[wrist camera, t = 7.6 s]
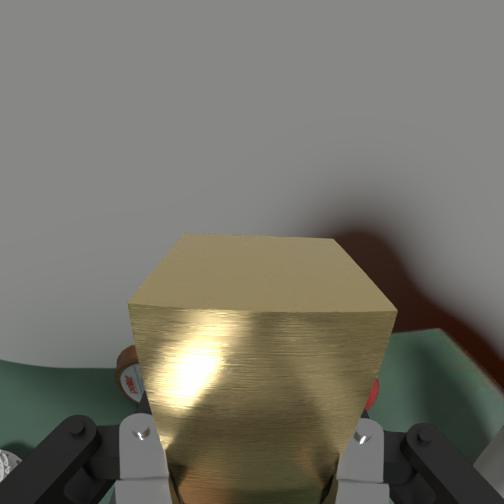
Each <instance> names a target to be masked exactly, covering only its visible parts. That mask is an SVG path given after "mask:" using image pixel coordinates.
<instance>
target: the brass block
mask: <svg viewBox="0 0 504 504" xmlns="http://www.w3.org/2000/svg"><path fill="white" fill-rule="evenodd" d="M128 309H129V315H130V321H131V326H132V332H133V337H134V342H135V347H136V352H137V356H138V361H139V365H140V370H141V374H142V378H143V382H144V386H145V390H146V394H147V397H148V401H149V405H150V408H151V412H152V415H153V418H154V422H155V425H156V428H157V431H158V435H159V438H160V441H161V444H162V447H163V450H164V451H165V452H166V455H167V458H168V463H169V466H170V469H171V472H172V474H173V477H174V479H175V482H177V485H178V487H179V491H180V494H181V496H182V499H183V501H184V503H185V504H315V503H316V502H317V500H318V498H319V495H320V491H321V489H322V487H323V485H324V484H327V483H328V481H329V480H330V478H331V476H332V474H333V472H334V470H335V464H336V461H337V459H338V457H339V455H340V454H342V453H344V451H345V449H346V447H347V445H348V443H349V441H350V439H351V437H352V435H353V433H354V431H355V428H356V426H357V424H358V422H359V419H360V417H361V415H362V413H363V410H364V408H365V405H366V403H367V401H368V398H369V396H370V393H371V390H372V388H373V385H374V383H375V380H376V377H377V375H378V372H379V369H380V366H381V363H382V360H383V357H384V354H385V351H386V348H387V345H388V342H389V339H390V335H391V332H392V329H393V325H394V322H395V318H396V315H397V309H396V308H395V307H394V306H393V304H392V303H391V302H390V301H389V300H388V299H387V298H386V296H385V295H384V294H383V293H382V292H381V291H380V290H379V288H378V287H377V286H376V285H375V284H374V283H373V282H372V281H371V279H370V278H369V277H368V276H367V275H366V274H365V273H364V272H363V270H362V269H361V268H360V267H359V266H358V265H357V264H356V263H355V262H354V261H353V259H352V258H351V257H350V256H349V255H348V254H347V253H346V252H345V251H344V250H343V249H342V248H341V247H340V246H339V245H338V243H337V242H336V241H335V240H334V239H323V238H322V239H321V238H300V237H275V236H249V235H221V234H187V233H185V234H184V235H183V236H182V237H181V239H180V240H179V241H178V242H177V243H176V245H174V247H173V248H172V249H171V250H170V251H169V253H168V254H167V255H166V256H165V257H164V259H163V260H162V261H161V262H160V263H159V265H158V266H157V267H156V268H155V269H154V271H153V272H152V273H151V274H150V276H149V277H148V278H147V279H146V281H145V282H144V283H143V284H142V285H141V287H140V288H139V289H138V291H137V292H136V293H135V295H134V296H133V297H132V298H131V300H130V301H129V302H128Z"/></svg>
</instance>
